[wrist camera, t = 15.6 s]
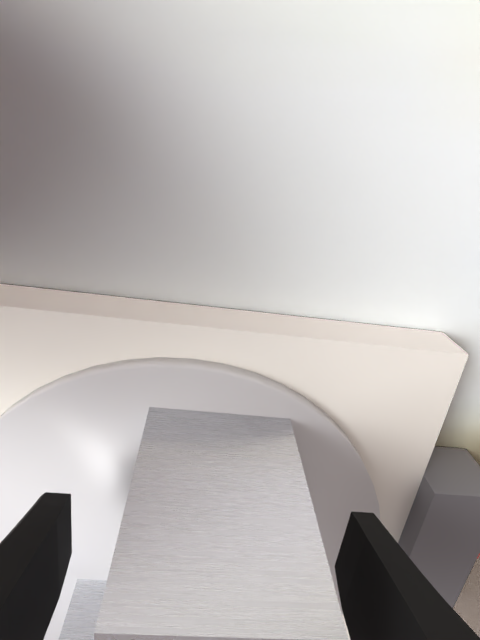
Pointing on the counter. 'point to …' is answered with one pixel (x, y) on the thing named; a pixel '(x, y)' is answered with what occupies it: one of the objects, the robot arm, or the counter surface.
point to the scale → (234, 398)
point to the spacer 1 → (83, 610)
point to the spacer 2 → (219, 537)
